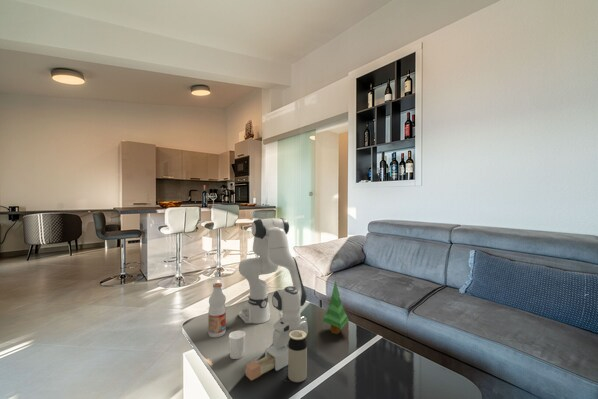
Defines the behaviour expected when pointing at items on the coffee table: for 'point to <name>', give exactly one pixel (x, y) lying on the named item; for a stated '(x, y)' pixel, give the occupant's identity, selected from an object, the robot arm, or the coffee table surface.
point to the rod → (266, 363)
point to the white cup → (237, 344)
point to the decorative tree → (335, 312)
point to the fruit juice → (217, 312)
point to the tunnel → (278, 356)
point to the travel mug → (297, 356)
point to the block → (253, 370)
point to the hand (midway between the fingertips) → (291, 350)
